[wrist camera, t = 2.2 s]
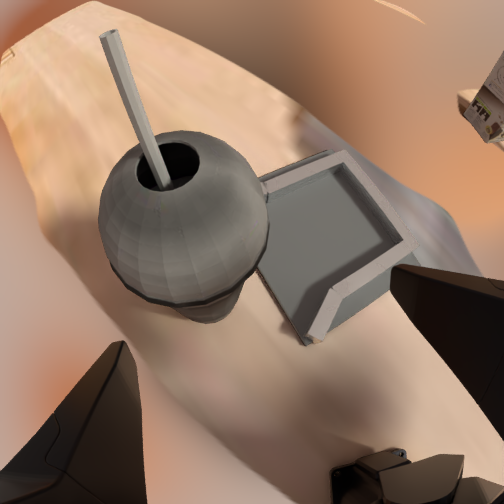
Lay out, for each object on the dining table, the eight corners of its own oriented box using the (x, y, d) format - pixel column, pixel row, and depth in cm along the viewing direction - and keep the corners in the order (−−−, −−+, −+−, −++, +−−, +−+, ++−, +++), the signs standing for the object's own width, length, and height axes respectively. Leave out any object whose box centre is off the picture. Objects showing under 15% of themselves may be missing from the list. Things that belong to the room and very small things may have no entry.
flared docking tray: (309, 348, 22) (315, 345, 20) (216, 196, 27) (214, 183, 25) (420, 269, 25) (431, 262, 23) (329, 149, 30) (333, 137, 28)
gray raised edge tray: (305, 346, 22) (306, 345, 22) (215, 199, 27) (215, 196, 26) (418, 267, 25) (420, 265, 25) (330, 151, 30) (331, 148, 29)
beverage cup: (215, 361, 21) (99, 264, 3) (142, 302, 23) (-34, 103, 5) (273, 286, 24) (362, 33, 6) (200, 234, 25) (157, -18, 7)
